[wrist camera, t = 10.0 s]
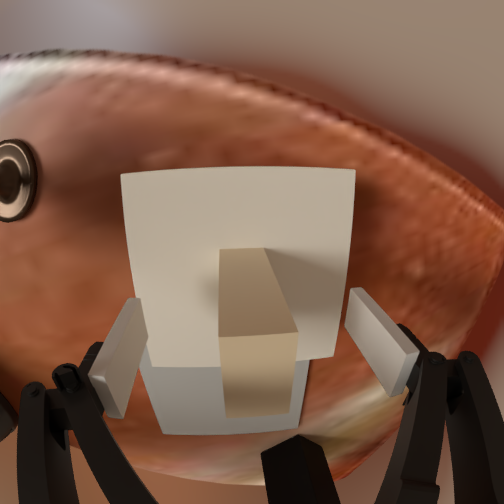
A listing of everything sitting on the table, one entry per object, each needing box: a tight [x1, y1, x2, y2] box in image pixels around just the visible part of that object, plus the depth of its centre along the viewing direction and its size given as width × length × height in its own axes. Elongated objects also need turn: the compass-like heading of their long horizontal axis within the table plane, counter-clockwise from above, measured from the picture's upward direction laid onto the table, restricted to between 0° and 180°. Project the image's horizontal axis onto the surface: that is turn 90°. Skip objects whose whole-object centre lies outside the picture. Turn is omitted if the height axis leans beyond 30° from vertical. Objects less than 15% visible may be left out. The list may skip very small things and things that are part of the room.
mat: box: [139, 345, 309, 435], centre depth 32 cm, size 20×20×1 cm
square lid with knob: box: [121, 166, 356, 418], centre depth 16 cm, size 16×16×11 cm
